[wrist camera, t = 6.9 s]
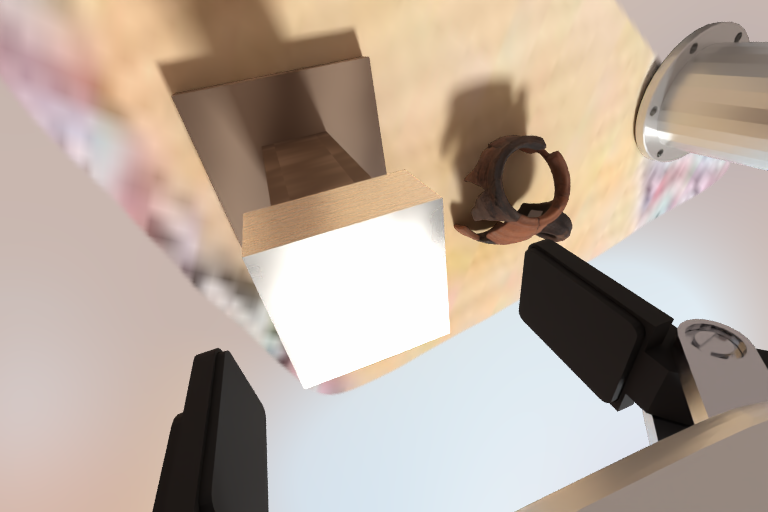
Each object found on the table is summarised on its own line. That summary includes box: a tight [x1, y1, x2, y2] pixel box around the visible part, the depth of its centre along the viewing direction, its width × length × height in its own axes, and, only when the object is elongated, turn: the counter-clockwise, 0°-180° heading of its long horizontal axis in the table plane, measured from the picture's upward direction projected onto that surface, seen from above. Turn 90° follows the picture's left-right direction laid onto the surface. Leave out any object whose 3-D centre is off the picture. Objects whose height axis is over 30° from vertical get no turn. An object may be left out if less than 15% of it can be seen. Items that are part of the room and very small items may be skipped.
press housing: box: [172, 57, 386, 247], centre depth 20 cm, size 12×12×12 cm
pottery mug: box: [454, 135, 572, 245], centre depth 30 cm, size 12×10×8 cm
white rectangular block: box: [242, 169, 450, 389], centre depth 17 cm, size 6×6×15 cm
